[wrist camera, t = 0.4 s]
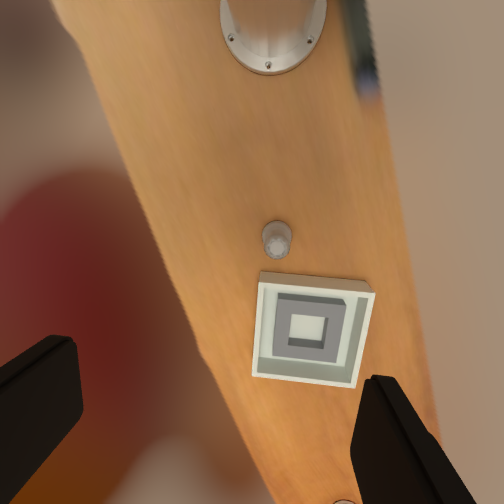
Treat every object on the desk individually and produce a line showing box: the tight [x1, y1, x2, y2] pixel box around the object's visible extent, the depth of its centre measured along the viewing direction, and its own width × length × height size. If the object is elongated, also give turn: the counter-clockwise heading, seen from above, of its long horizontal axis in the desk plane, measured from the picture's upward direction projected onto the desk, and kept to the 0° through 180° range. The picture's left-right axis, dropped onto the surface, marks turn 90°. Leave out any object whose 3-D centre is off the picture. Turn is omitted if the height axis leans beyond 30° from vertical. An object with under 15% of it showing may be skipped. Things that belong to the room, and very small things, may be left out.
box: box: [252, 271, 376, 388], centre depth 40 cm, size 16×16×4 cm
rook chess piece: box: [262, 221, 292, 259], centre depth 35 cm, size 4×4×8 cm
